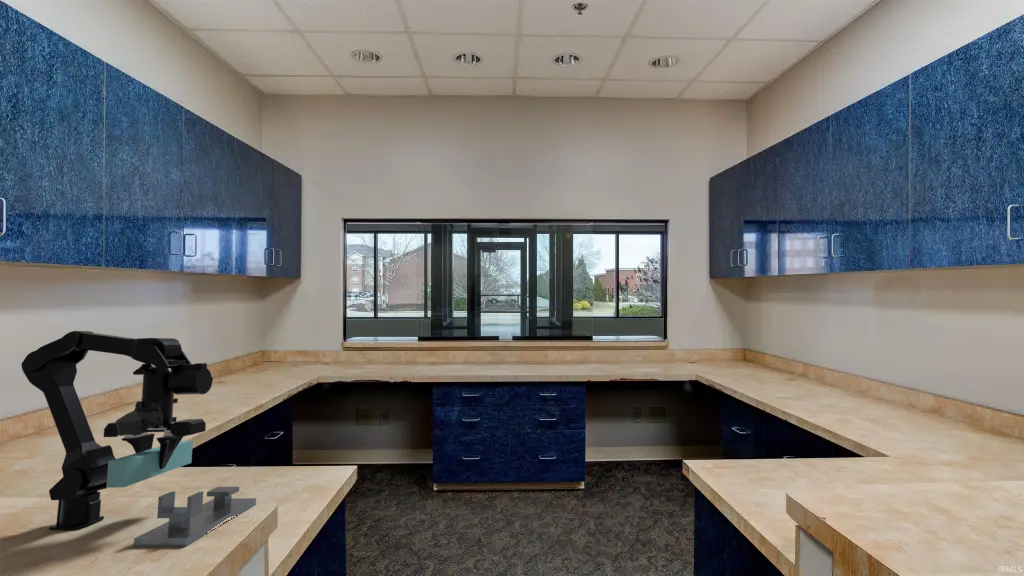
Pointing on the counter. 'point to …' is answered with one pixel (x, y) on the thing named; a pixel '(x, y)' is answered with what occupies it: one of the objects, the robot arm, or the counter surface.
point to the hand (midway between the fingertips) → (153, 468)
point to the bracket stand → (192, 517)
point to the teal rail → (145, 465)
